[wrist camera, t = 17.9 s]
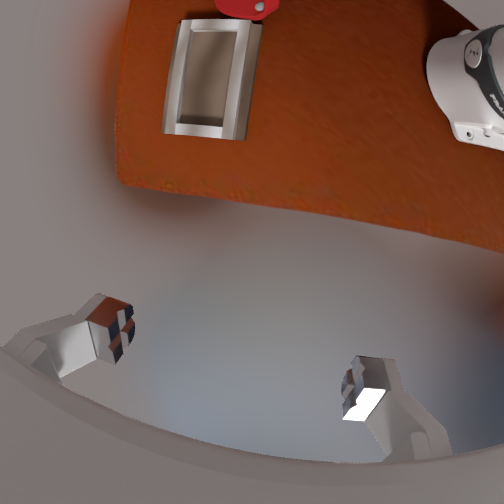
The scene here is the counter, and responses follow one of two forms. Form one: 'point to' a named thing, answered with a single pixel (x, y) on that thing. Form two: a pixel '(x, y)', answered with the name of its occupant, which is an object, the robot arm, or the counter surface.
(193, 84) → the grey rectangular tray
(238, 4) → the tracker holder
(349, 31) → the counter surface
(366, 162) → the counter surface
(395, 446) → the robot arm
